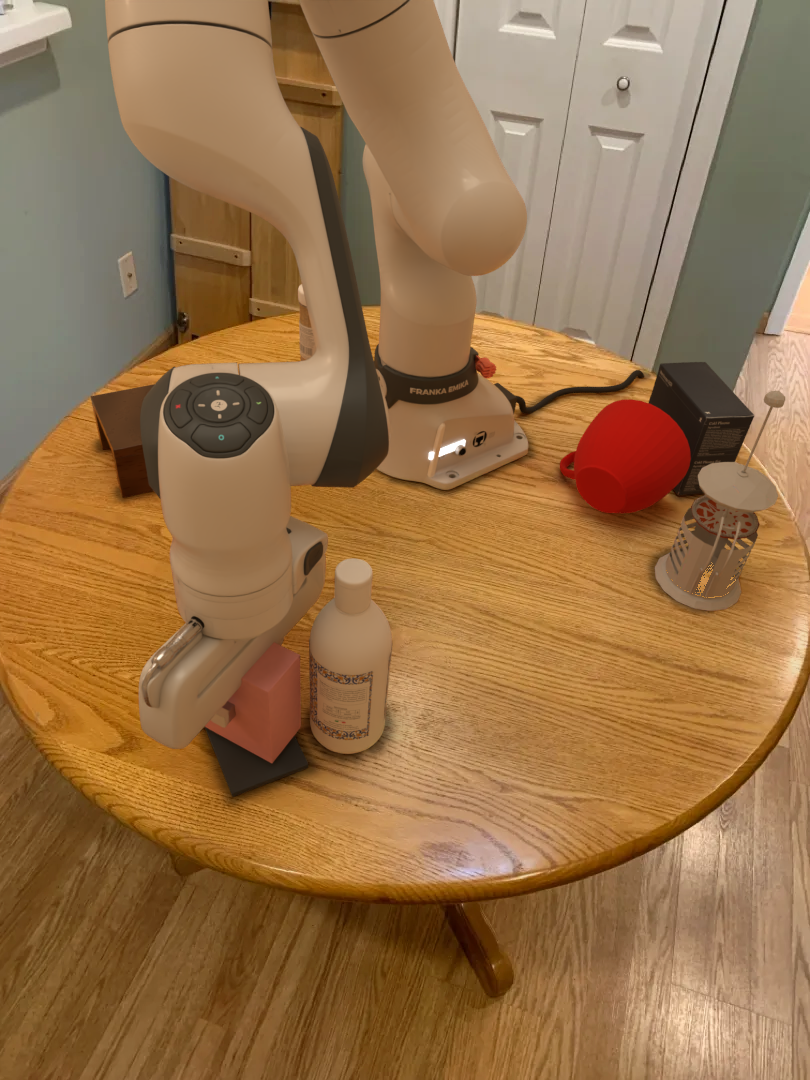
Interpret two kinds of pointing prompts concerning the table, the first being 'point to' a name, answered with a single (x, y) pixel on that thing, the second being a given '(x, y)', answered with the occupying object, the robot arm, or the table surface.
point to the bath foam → (349, 664)
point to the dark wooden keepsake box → (123, 436)
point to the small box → (701, 416)
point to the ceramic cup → (628, 457)
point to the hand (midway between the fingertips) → (244, 694)
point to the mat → (254, 764)
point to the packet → (266, 705)
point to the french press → (718, 531)
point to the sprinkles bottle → (305, 329)
